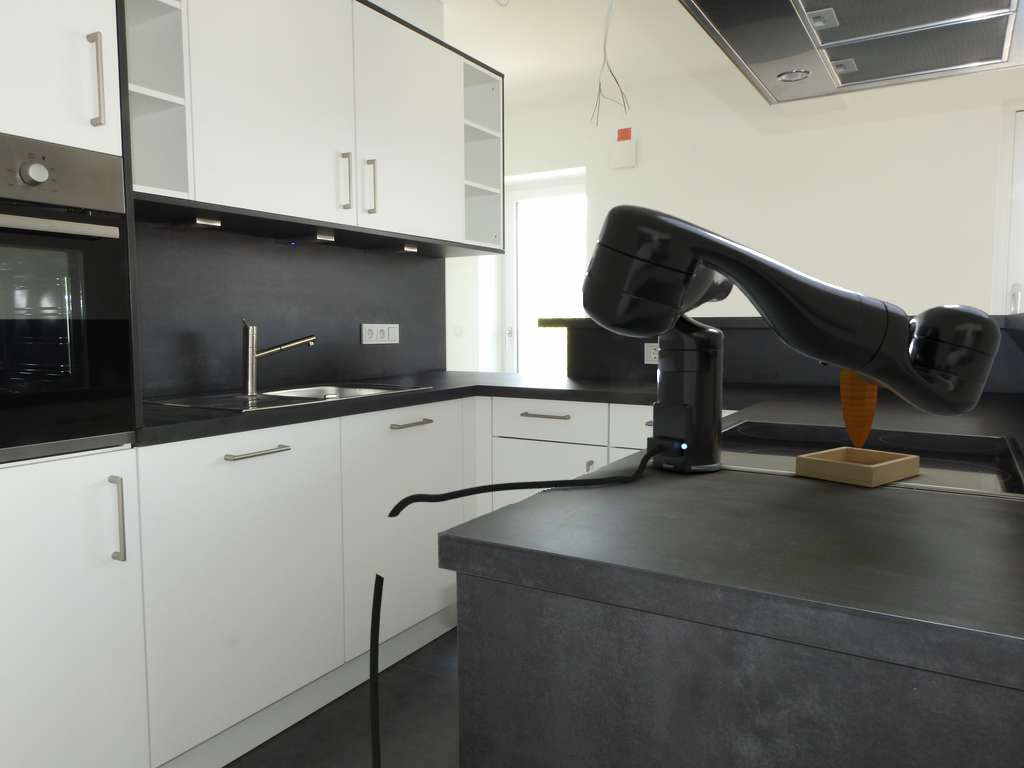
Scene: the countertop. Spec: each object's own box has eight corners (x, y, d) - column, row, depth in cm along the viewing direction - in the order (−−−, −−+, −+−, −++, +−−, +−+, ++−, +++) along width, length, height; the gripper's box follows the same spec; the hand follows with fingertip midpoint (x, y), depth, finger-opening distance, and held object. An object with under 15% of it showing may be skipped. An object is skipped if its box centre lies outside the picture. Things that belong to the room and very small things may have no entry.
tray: (872, 487, 92) (873, 467, 91) (795, 474, 100) (795, 456, 100) (918, 474, 100) (919, 455, 100) (844, 463, 108) (844, 446, 108)
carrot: (870, 445, 102) (870, 339, 101) (884, 450, 97) (885, 339, 96) (833, 446, 102) (833, 340, 101) (846, 451, 97) (846, 340, 96)
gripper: (829, 387, 86) (802, 380, 103) (959, 389, 83) (909, 381, 100) (830, 325, 86) (803, 327, 103) (961, 324, 83) (911, 327, 100)
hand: (856, 354), depth 101 cm, fingers closed on carrot, 3 cm apart
